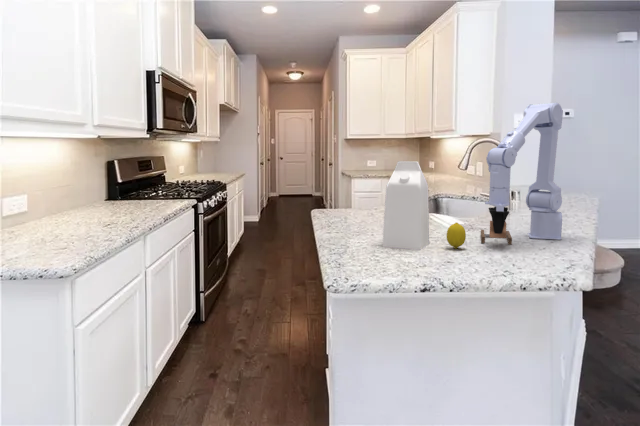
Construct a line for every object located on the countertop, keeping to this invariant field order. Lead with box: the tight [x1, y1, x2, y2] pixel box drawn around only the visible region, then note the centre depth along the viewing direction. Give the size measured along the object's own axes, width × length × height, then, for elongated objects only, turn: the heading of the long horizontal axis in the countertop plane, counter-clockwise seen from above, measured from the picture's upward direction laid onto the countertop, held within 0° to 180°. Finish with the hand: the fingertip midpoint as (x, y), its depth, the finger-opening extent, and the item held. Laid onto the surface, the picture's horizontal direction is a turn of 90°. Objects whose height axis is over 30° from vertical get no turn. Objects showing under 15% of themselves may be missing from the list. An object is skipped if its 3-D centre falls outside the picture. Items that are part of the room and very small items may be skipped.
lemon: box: [446, 222, 467, 250], centre depth 144 cm, size 6×6×8 cm
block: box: [489, 220, 507, 239], centre depth 148 cm, size 4×4×4 cm
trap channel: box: [480, 229, 513, 246], centre depth 159 cm, size 9×16×2 cm, turn 163°
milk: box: [381, 160, 430, 251], centre depth 149 cm, size 12×12×26 cm
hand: (497, 231), depth 148 cm, fingers closed on block, 4 cm apart
